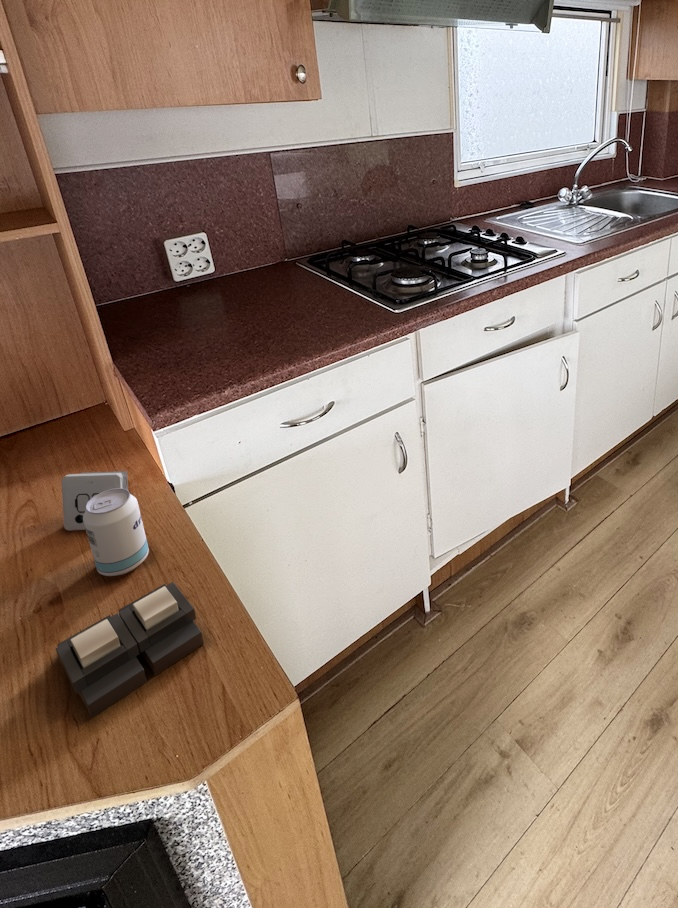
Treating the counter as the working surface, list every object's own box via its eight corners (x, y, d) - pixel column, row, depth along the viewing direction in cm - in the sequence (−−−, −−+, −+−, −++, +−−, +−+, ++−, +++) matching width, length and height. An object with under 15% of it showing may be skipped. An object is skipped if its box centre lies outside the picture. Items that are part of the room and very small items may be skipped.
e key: (135, 613, 77) (132, 603, 77) (166, 595, 80) (164, 585, 80) (146, 631, 75) (144, 621, 74) (179, 611, 78) (176, 601, 77)
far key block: (117, 623, 80) (111, 601, 79) (170, 593, 85) (165, 572, 83) (151, 678, 73) (145, 655, 71) (207, 641, 78) (202, 619, 76)
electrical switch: (63, 532, 96) (53, 482, 94) (82, 513, 101) (73, 465, 99) (123, 529, 97) (114, 480, 95) (138, 511, 102) (131, 464, 100)
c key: (73, 649, 72) (70, 639, 72) (109, 628, 75) (106, 618, 75) (83, 669, 70) (80, 658, 69) (120, 646, 73) (117, 636, 72)
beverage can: (150, 570, 89) (135, 506, 85) (96, 588, 85) (78, 522, 81) (149, 541, 94) (135, 480, 90) (99, 557, 91) (81, 494, 87)
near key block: (56, 659, 75) (49, 636, 73) (116, 624, 80) (110, 602, 78) (87, 721, 68) (79, 697, 66) (151, 679, 72) (145, 655, 71)
